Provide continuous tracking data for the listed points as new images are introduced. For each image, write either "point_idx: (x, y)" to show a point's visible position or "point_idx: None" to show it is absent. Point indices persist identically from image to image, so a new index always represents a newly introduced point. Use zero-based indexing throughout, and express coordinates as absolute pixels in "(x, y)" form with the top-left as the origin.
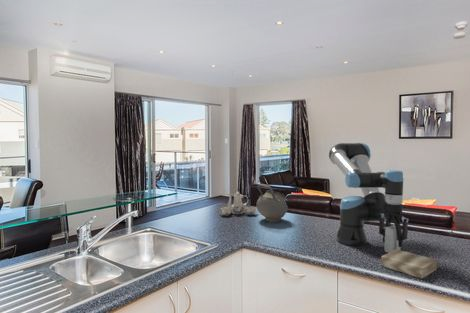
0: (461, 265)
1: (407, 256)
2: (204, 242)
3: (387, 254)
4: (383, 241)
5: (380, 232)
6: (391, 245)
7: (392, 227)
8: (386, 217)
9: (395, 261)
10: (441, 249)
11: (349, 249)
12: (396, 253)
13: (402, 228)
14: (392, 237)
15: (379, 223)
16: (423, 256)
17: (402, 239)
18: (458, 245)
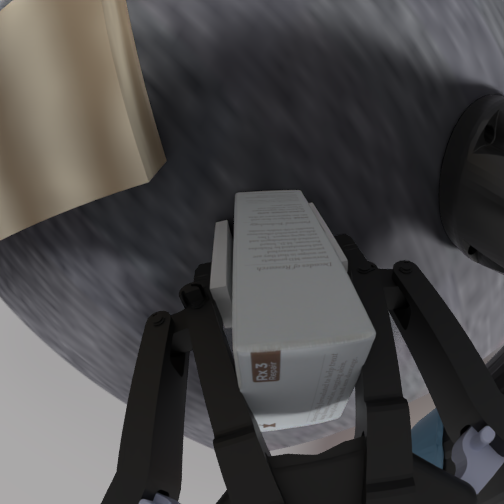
0: (46, 336)
1: (15, 132)
2: None
3: (92, 5)
4: (347, 239)
5: (406, 273)
6: (246, 218)
7: (294, 387)
8: (424, 478)
9: (11, 5)
10: (194, 404)
11: (438, 29)
12: (75, 92)
13: (152, 415)
14: (237, 263)
15: (469, 343)
16: (9, 233)
17: (178, 315)
18: (206, 438)
